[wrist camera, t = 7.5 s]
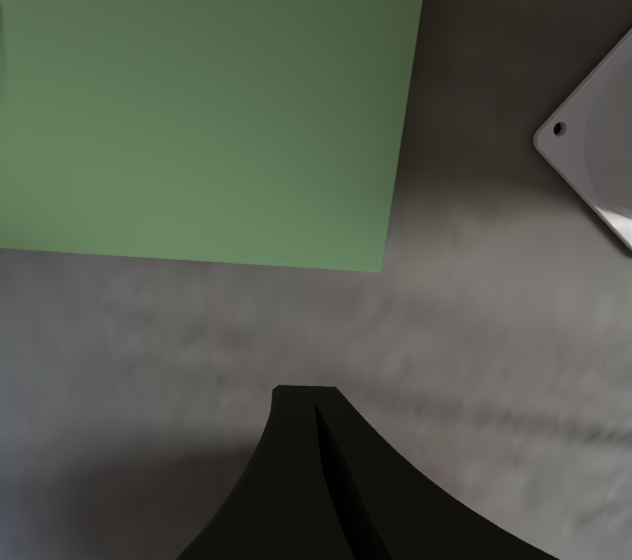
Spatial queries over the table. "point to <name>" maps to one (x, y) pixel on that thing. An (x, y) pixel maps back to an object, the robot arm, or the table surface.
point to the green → (204, 128)
